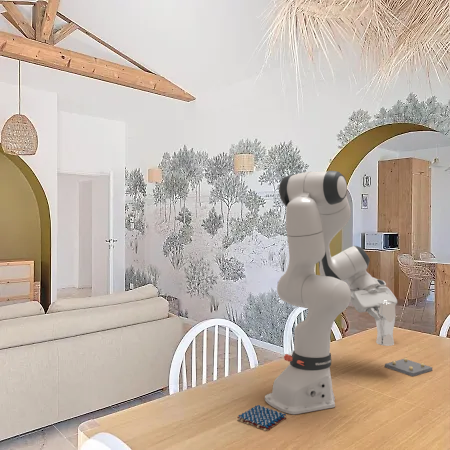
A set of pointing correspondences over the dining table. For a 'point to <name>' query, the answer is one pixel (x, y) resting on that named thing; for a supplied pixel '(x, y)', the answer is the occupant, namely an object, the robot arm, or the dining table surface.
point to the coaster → (408, 367)
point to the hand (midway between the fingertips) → (386, 318)
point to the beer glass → (385, 323)
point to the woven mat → (261, 417)
